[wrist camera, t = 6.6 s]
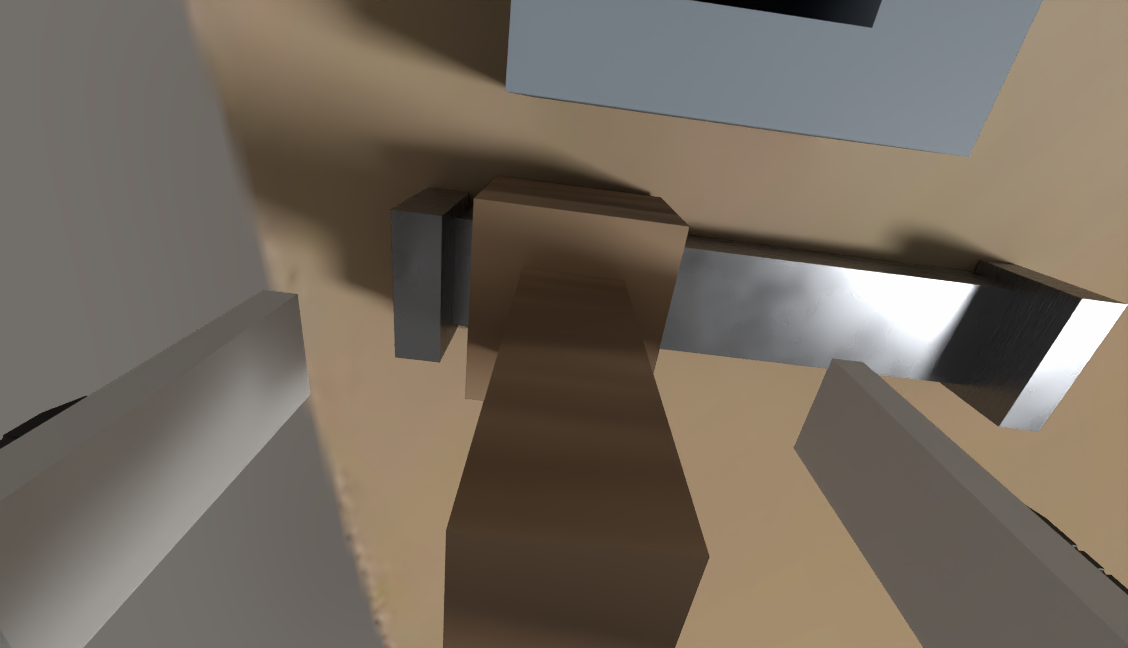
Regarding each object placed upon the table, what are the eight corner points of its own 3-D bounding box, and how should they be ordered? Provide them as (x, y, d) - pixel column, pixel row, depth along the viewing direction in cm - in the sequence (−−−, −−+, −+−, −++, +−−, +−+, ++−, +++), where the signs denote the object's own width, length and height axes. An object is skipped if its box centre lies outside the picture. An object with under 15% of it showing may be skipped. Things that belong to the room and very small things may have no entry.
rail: (428, 187, 17) (390, 209, 14) (1017, 264, 18) (1127, 304, 15) (428, 310, 19) (395, 357, 16) (955, 373, 20) (1038, 431, 17)
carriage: (497, 175, 17) (288, 378, 4) (661, 197, 17) (904, 447, 5) (486, 337, 20) (343, 741, 7) (627, 354, 20) (723, 771, 7)
